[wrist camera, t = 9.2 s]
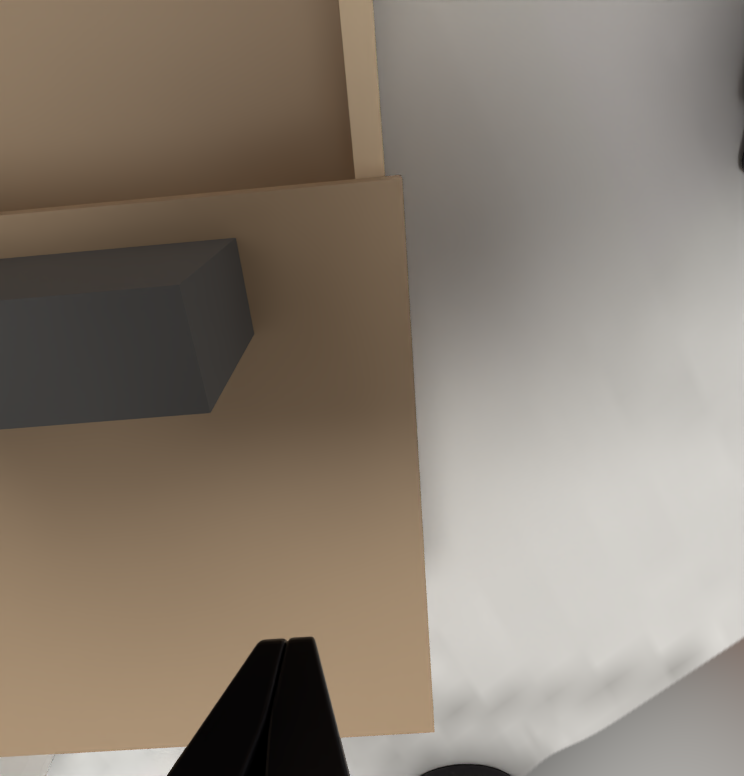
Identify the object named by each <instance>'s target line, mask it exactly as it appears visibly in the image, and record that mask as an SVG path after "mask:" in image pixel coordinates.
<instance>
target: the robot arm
mask: <svg viewBox="0 0 744 776" xmlns="http://www.w3.org/2000/svg"><path fill="white" fill-rule="evenodd" d="M742 168H743V170H744V153H743V158H742ZM167 776H350V774H349V770H348V766H347V762H346V758H345V754H344V750H343V746H342V742H341V738H340V735H339V731H338V727H337V723H336V719H335V715H334V711H333V707H332V703H331V699H330V695H329V691H328V688H327V684H326V680H325V676H324V672H323V668H322V664H321V660H320V656H319V652H318V648H317V645H316V641H315V639H314V637H312V636H308V637H293V638H290V639H289V640H288V641H287V640H286V639H284V638H277V639H264V640H261V641H260V642H258V643H257V645H256V646H255V647H254V649H253V650H252V652H251V653H250V655H249V656H248V658H247V659H246V661H245V662H244V664H243V665H242V666H241V668H240V669H239V671H238V672H237V674H236V675H235V677H234V678H233V680H232V681H231V683H230V684H229V685H228V687H227V688H226V690H225V691H224V693H223V694H222V696H221V697H220V699H219V700H218V702H217V703H216V704H215V706H214V707H213V709H212V710H211V712H210V713H209V715H208V716H207V718H206V719H205V721H204V722H203V723H202V725H201V726H200V728H199V729H198V731H197V732H196V734H195V735H194V737H193V738H192V740H191V741H190V742H189V744H188V745H187V747H186V748H185V750H184V751H183V753H182V754H181V756H180V757H179V759H178V760H177V761H176V763H175V764H174V766H173V767H172V769H171V770H170V772H169V773H168V775H167Z"/></svg>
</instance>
